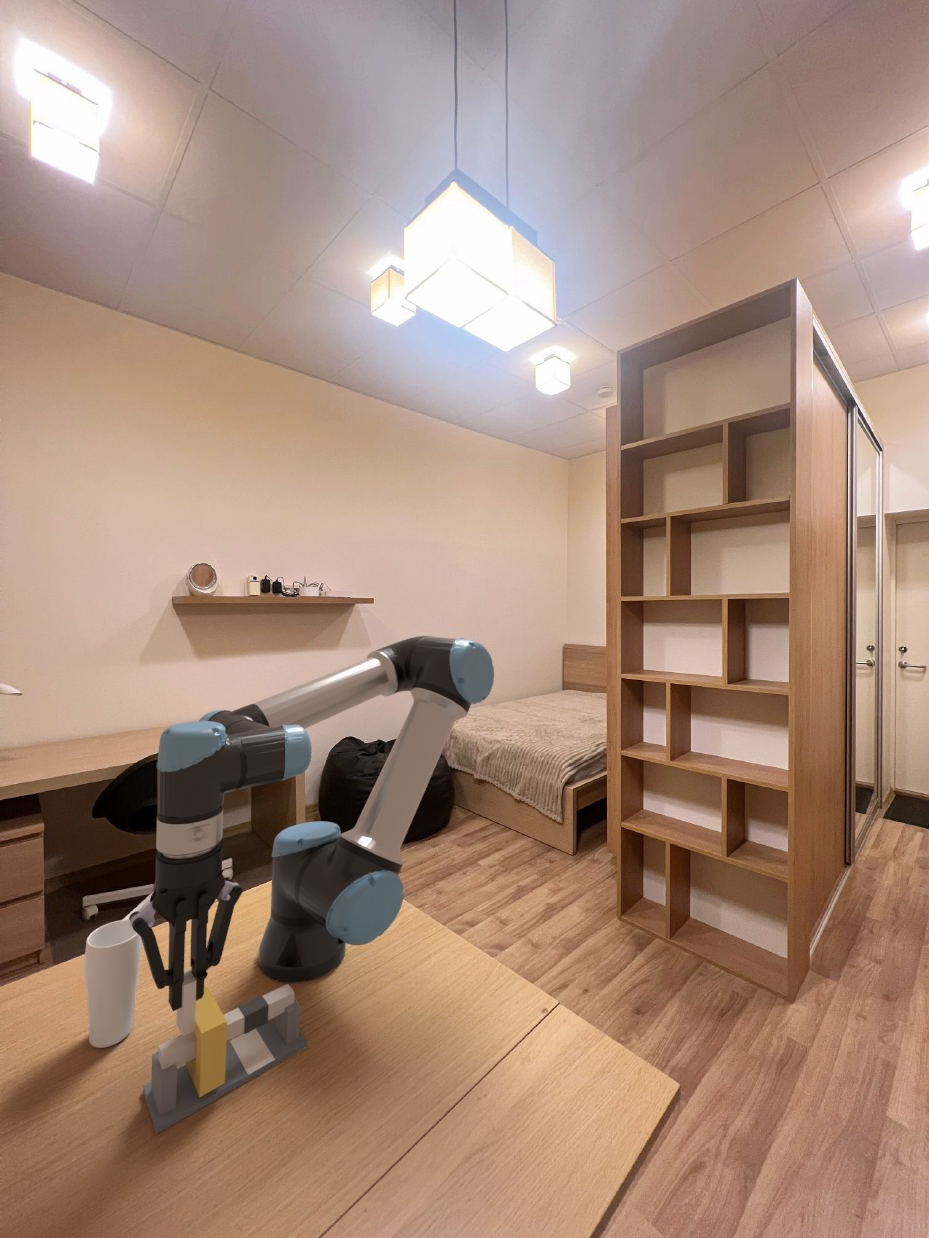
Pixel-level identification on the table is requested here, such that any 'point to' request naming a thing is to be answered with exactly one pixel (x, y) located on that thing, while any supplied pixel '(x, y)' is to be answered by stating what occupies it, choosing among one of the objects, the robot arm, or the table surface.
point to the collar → (208, 1045)
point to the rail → (244, 1056)
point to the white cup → (111, 981)
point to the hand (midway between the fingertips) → (185, 1026)
